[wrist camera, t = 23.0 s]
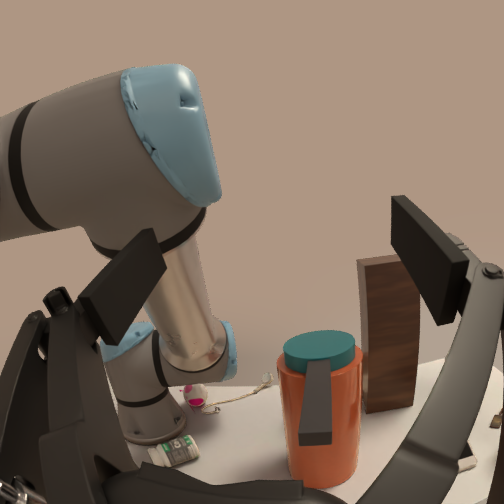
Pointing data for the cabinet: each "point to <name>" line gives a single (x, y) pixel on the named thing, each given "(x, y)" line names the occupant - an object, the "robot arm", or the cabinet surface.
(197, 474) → the cabinet surface
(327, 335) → the disc paddle
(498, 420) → the key tag
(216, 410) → the shower head
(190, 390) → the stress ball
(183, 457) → the pill bottle
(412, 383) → the pillar
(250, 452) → the cabinet surface
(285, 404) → the pedestal
